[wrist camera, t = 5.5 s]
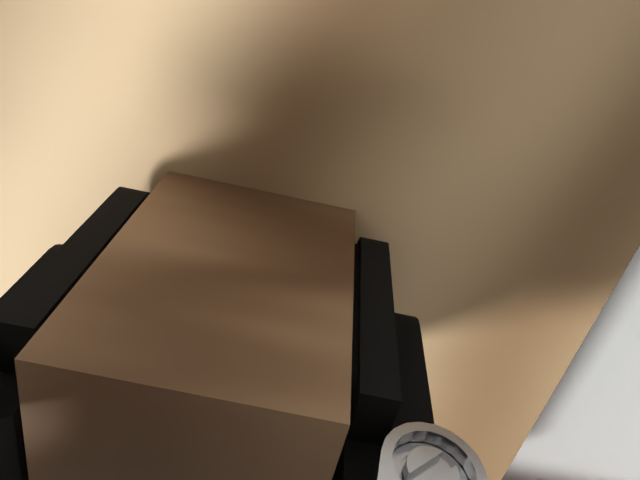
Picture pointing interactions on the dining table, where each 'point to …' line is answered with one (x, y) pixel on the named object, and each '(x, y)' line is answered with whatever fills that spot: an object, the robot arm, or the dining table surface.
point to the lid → (308, 216)
